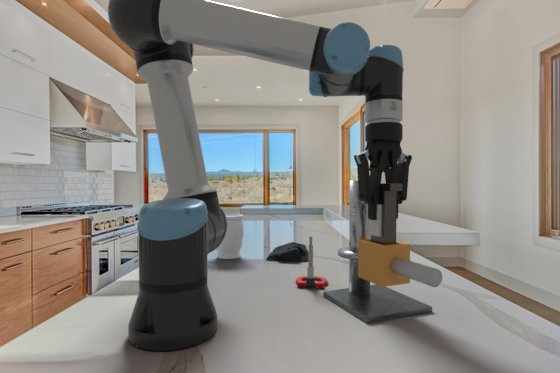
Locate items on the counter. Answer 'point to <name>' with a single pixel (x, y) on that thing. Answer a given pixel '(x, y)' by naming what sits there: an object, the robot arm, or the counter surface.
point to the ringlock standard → (361, 295)
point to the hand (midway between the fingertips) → (383, 234)
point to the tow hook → (310, 273)
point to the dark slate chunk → (289, 253)
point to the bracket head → (392, 265)
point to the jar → (232, 238)
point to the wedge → (387, 213)
